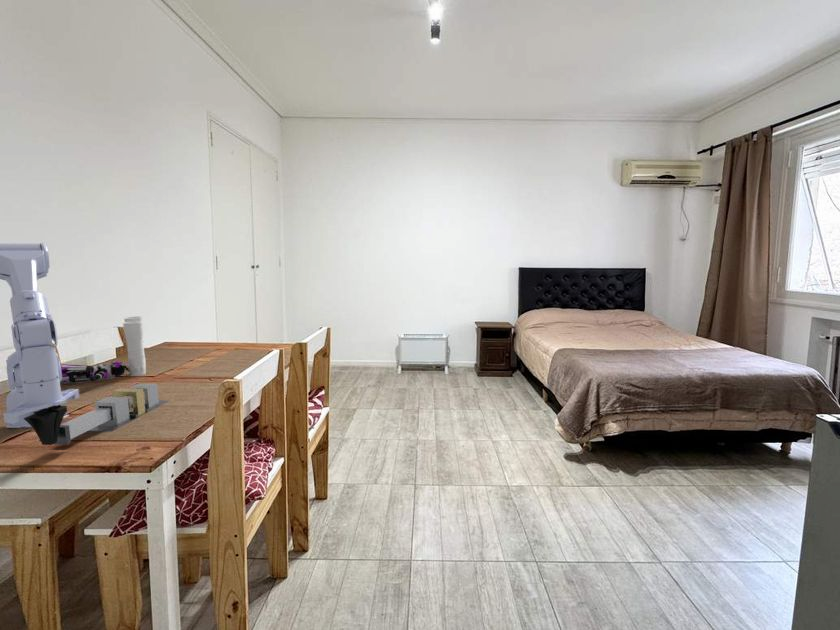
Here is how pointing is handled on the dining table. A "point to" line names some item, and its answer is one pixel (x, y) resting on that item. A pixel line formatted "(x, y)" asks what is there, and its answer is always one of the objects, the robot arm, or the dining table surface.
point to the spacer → (136, 398)
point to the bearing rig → (122, 409)
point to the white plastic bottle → (135, 345)
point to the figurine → (92, 372)
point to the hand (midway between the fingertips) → (49, 443)
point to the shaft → (84, 423)
